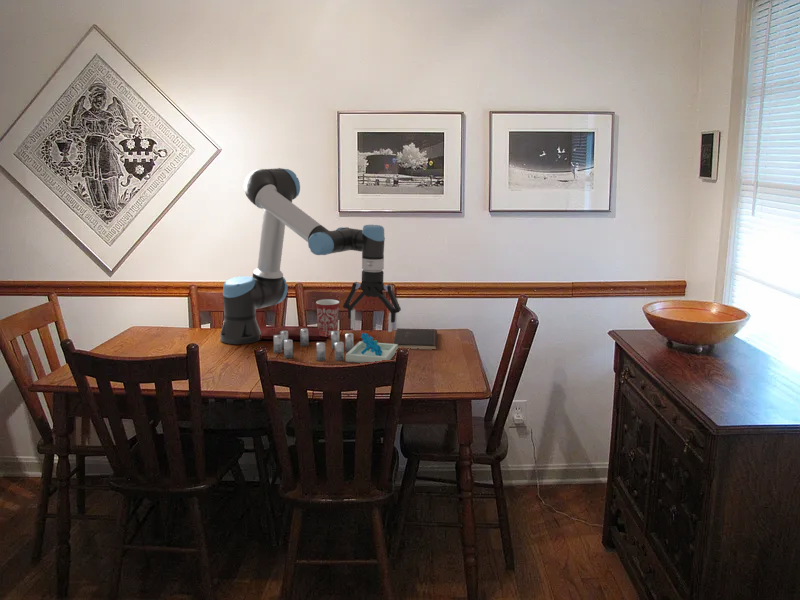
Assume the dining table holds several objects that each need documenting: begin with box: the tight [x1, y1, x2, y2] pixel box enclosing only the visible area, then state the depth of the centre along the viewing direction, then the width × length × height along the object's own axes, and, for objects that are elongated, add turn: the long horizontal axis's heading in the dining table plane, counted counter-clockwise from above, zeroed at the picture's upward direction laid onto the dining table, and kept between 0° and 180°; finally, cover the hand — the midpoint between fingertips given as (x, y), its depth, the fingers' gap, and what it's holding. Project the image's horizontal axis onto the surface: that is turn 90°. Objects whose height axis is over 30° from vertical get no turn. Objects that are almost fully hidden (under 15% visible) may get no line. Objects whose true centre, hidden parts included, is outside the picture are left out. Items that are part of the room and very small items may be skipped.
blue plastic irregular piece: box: [360, 332, 383, 356], centre depth 255 cm, size 11×6×10 cm
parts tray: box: [345, 340, 399, 364], centre depth 255 cm, size 14×17×2 cm
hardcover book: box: [392, 327, 438, 350], centre depth 276 cm, size 16×23×2 cm
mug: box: [315, 298, 340, 339], centre depth 282 cm, size 13×9×14 cm
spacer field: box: [272, 327, 354, 362], centre depth 259 cm, size 27×19×6 cm
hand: (371, 329), depth 254 cm, fingers open, 13 cm apart
